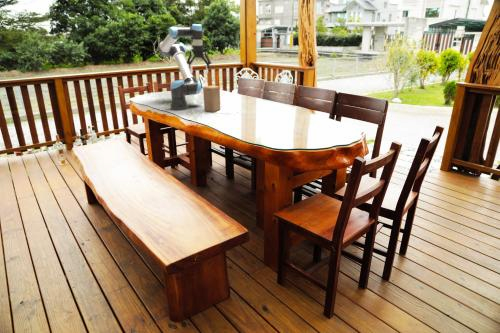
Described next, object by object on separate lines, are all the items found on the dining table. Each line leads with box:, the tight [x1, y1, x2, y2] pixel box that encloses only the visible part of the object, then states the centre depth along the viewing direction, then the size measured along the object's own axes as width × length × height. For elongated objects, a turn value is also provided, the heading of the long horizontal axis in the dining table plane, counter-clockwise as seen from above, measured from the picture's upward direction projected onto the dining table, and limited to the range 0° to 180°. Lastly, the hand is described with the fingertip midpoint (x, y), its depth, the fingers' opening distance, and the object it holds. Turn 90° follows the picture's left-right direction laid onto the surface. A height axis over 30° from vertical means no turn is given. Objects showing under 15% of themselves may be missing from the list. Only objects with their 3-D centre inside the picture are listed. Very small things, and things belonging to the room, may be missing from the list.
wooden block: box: [202, 85, 221, 113], centre depth 270 cm, size 10×10×20 cm
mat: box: [215, 108, 241, 115], centre depth 269 cm, size 16×14×1 cm
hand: (199, 73), depth 267 cm, fingers open, 13 cm apart
